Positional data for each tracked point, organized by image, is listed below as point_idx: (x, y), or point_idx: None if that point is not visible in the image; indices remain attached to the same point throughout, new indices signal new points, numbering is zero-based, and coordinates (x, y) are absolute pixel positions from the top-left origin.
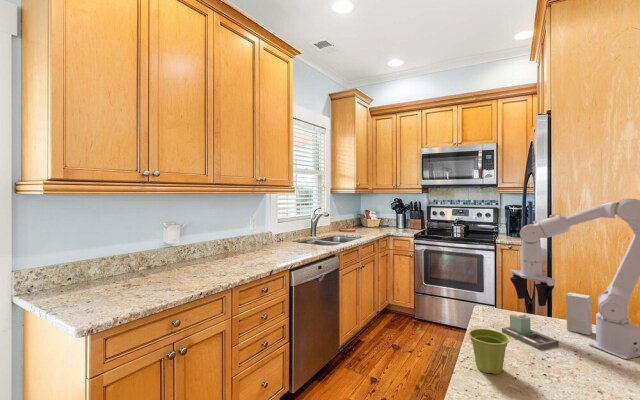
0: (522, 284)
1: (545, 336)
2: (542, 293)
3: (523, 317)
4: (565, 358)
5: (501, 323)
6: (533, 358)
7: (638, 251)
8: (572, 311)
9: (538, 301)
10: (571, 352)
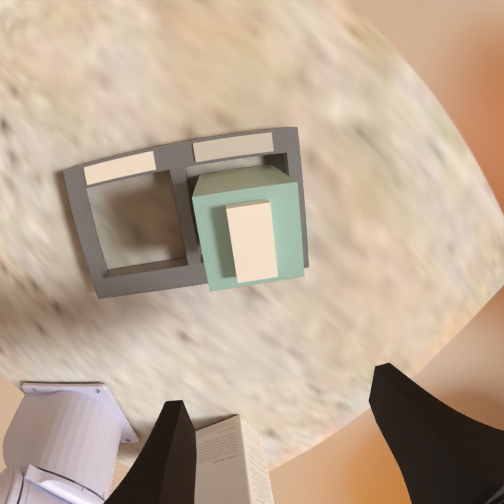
0: (424, 485)
1: (149, 283)
2: (112, 500)
3: (219, 244)
4: (3, 220)
5: (385, 213)
6: (12, 89)
7: None
8: (225, 483)
9: (174, 424)
10: (45, 283)
